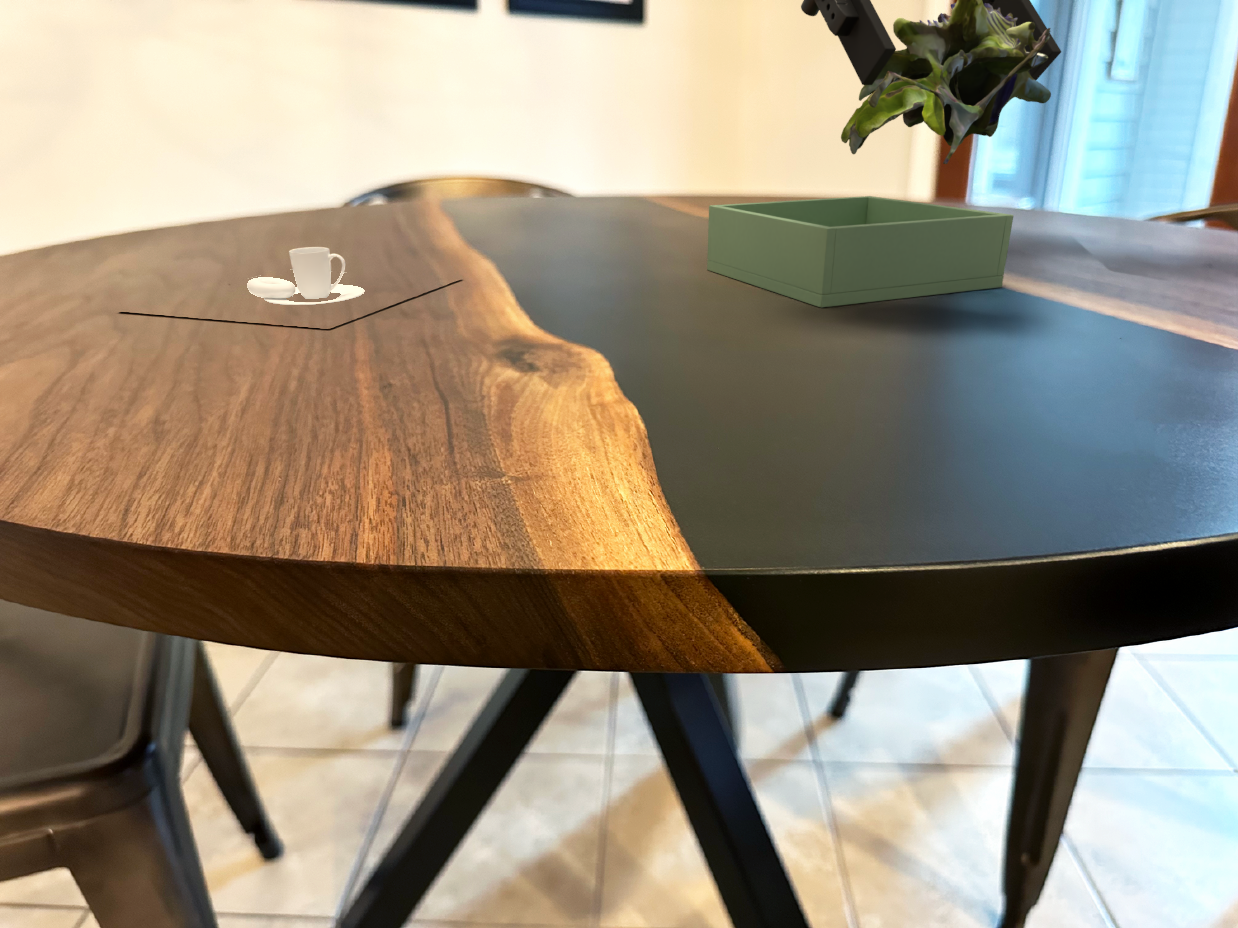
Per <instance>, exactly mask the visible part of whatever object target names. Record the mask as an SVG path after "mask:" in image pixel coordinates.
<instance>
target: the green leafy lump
mask: <svg viewBox="0 0 1238 928" xmlns="http://www.w3.org/2000/svg"><path fill="white" fill-rule="evenodd" d="M950 9H951V13H950V14H951V15H948V13H945V12H944V13H942V12H940V13H939V15H938V16H937V20H935V19H932V21H931V20H930V19H927V21H926V22H927V23H925V22H924V21H922V20H921V19H919V21H912V20H909V19H906V18H903V17H897V18H896V19H895V20H894V22H893V23H892V29H893V30H892V32H893V34H894V35H895V37H896V38H897V39H898V40H899V41H900V42H901V43H902V44H903V45H904V46H905V48H904V49H900V50H898V49H897V50H895V52H894V53H893V55H892V56H891V58H890V59H889V61H888V62H887V64H886V65H885V67H884V68H883V70H882V71H881V72H880V74H879V75H878V77H877V78H876V80H875V81H874V83H873V84H872V85H862V87H861V88H860V92H859V95H858V101H860V102H861V101H862V100H864V99H865V98H866V99H865V100H864V101H863V102H862V105H861V106H860V107H858V108H857V107H856V109H855V110H854V112H853V113H852V115H851V117H850V118H849V120H848V121H847V122H846V124H845V126H844V127H843V129H842V132H841V135H840V139H841V142H842V143H844V144H847V143H848V147H849V150H850V153H851V155H856V154H857V152H858V150H859V149H861V148H862V147H863V145H864V144H865V142H866V140H867V139H868V138H869V136H870V134H873V133H874V132H876V131H878V130H879V129H881V128H882V127H884V126H885V125H886V124H888V123H890V122H891V121H894V120H897V118H898V117H900V116H902V120H903V121H902V122H903V124H904V125H905V126H906V127H908V128H912V127H914V126H918V125H920V124H922V123H924V124H925V125H926V126H927V127H928V129H930V130H931V131H932V132H934V133H935V134H936V135H938V136H943V139H944V141H945V143H946V144H947V145H948V146H949V147H950V149H949V152H948V154H946V156H945V159H944V160H943V162H942V164H944V165H948V164H949V161H950V159H951V157H952V156H953V154H954V153H955V152H956V150H957V149H958V147H959V146H961V145H962V144H963V142H964V141H965V139H966V138H967V137H969V136H970V135H978V136H985V137H986V136H987V137H989V138H990V137H993V136H994V134H995V133H996V131H997V129H998V127H999V122H1000V116H1001V112H1002V110H1003V109H1004V108H1005V106H1006V105H1007V104H1008V103H1009V102H1010V101H1011V100H1012V99H1014V98H1016V99H1018V100H1023V101H1025V102H1028V103H1039V104H1046V103H1047V102H1049V101H1050V99H1051V97H1052V92H1051V91H1050V90H1049V89H1048V88H1047V87H1046V86H1045V85H1043V83H1040V82H1039V81H1038V80H1035V79H1033V78H1032V77H1031V75H1030V71H1029V70H1030V69H1032V68H1034V67H1037V66H1038V65H1040V64H1042V63H1044V62H1046V61H1047V60H1048V56H1047V55H1045V54H1041V53H1039V51H1040V50H1041V49H1042V48H1043V47H1044V46H1045V45H1046V43H1047V41H1048V39H1049V33H1050V34H1051V27H1048V28H1047V30H1045V31H1044V33H1043V34H1042V36H1041V37H1040V38H1039V40H1038V41H1035V39H1034V37H1033V32H1034V30H1035V24H1034V23H1033V22H1026V23H1024V24H1022V25H1020V26H1016V21H1017V19H1018V18H1014V19H1013V17H1012V16H1013V15H1012V14H1011V13H1009V14H1008V15H1007V16H1006V17H1003V16H1002V14H1001V12H1000V8H998V9H997V10H994V9H993V7H992V6H991V5H990V4H988V3H985V4H984V5H983V2H982V0H956V2H954V3H950ZM1027 45H1029V46H1030V52H1026V50H1025V47H1026V46H1027Z"/></svg>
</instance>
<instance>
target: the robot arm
mask: <svg viewBox="0 0 1238 928" xmlns="http://www.w3.org/2000/svg"><path fill="white" fill-rule="evenodd" d="M982 2H983V5H984V4H985V3H988V4H990V5H991V6H992V7H993V9H994V10H997V9H998V8H1000V12H1001V14H1002V16H1003V17H1006V16H1007V15H1008V14H1009V13H1011V14H1012V15H1013V16H1012V17H1013V19H1014V18H1018V19H1017V21H1016V26H1020V25H1022V24H1024V23H1026V22H1033V23H1034V24H1035V30H1034V32H1033V37H1034V39H1035V41H1038V40H1039V38H1040V37H1041V36H1042V34H1043V33H1044V31H1045V30H1047V29H1048V28H1047V26H1046V24H1045V22H1044V21H1043V20H1042V18H1041V16H1040V14H1039V13H1038V11H1037V10H1036V8H1035V6H1034V4H1033V3H1032V2H1031V0H982ZM800 9H801V12H803V13H804V14H805V15H807V16H809V17H815V16H818V13H819V12H820V14H821V16H822V18H823V20H824V22H825V23H826V26H827V28H828V30H829V31H830V32H831V33H832V34H833V36H834V37H838V40H839V42H840V43H841V45H842V47H843V49H844V52H845V53H846V55H847V58H848V60H849V61H850V64H851V66H852V67H853V70H854V72H855V73H856V76H857V77H858V79H859V81H860V83H861V85H862V86H864V85H872V84H873V83H874V81H875V80H876V78H877V77H878V75H879V74H880V72H881V71H882V70H883V68H884V67H885V65H886V64H887V62H888V61H889V59H890V58H891V56H892V55H893V53H894V52H895V51H897V48H896V46H895V44H894V42H893V40H892V39H891V36H890V35H889V32H888V31H887V29H886V27H885V25H884V23H883V22H882V19H881V17H880V15H879V14H878V12H877V10H876V8H875V7H874V4H873V3H872V0H802V2H801V4H800ZM1025 50H1026V52H1030V46H1029V45H1027V46H1026V47H1025ZM1039 53H1041V54H1045V55H1047V56H1048V60H1047V61H1046V62H1044V63H1042V64H1040V65H1038V66H1037V67H1034V68H1032V69H1030V70H1029V71H1030V75H1031V77H1032V78H1033V79H1035V80H1036V81H1038V80H1039V78H1041V76H1042V75H1043V74H1044V73H1045V71H1046V70H1047V69H1048V68H1049V67H1050V65H1052V64H1053V62H1054V61H1055V60H1056V59H1057V58H1058V56H1060V54H1061V53H1062V50H1061V48H1060V47H1059V45H1058V44H1057V42H1056V40H1055V38H1054V37H1053V35H1052V34H1051V32H1050V33H1049V39H1048V41H1047V43H1046V45H1045V46H1044V47H1043V48H1042V49H1041V50H1040V51H1039Z"/></svg>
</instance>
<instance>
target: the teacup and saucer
mask: <svg viewBox="0 0 1238 928" xmlns="http://www.w3.org/2000/svg"><path fill="white" fill-rule="evenodd" d="M330 252H331V251H330V248H329V247H326V246H325V247H323V246H307V247H306V246H305V247H298V248H293V249H290V250H288V255H289V259H290V264H291V270H293V273H294V277H295V281H296V284H297V287H295V285H294V284H293V283H292V282H290V281H287V280H284V279H280V278H273V277H258V278H253V277H252V278H253V279H251V280H249V281H248V283H247V288H248V290H249V292H250V293H251V294H253V295H255V296H257V297H261V298H264V300H265V301H267V302H269V303H273V304H280V305H316V304H326V303H334V302H340V301H345V300H349V299H353V298H356V297H359V296H361V295H362V294H364V292H365V290H364V289H363V288H361V287H358V286H353V285H343V284H338V283H339V282H340V280H341V278H342V276H343V274H344V273H345V270H346V261H345V258H344V257H343V256H341V255H340V254H338V253H330ZM334 258H337V259H339V260H340V262H341V271H340V272H341V273H340V276H339V278H338V279H337V281H336V282H335V283H334V284H331V272H332V263H331V262H332V261H331V260H333V259H334ZM330 292H331V293H340V294H341V295H340V296H339V297H337V298H336V299H333V300H328V301H321V302H294V301H289V300H287V299H286V298H290V297H291V296H292V297H293V295H294V294H298V293H301V295H302V296H303V297H304V298H305V299H319V298H327V297H328V296H329V294H330Z"/></svg>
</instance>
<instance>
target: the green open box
mask: <svg viewBox="0 0 1238 928" xmlns="http://www.w3.org/2000/svg"><path fill="white" fill-rule="evenodd" d="M1013 222H1014V214H1010V213H1003V212H994V211H987V210H979V209H971V208H964V207H957V206H949V205H943V204H942V205H941V204H933V203H926V202H920V201H919V202H918V201H910V200H903V199H897V198H896V199H895V198H889V197H880V196H873V195H865V196H862V195H861V196H847V197H830V198H813V199H811V198H810V199H797V200H796V199H795V200H783V201H782V200H777V201H761V202H760V201H759V202H745V203H729V204H728V203H727V204H711V205H708V224H707V228H708V229H707V260H706V261H707V262H706V264H707V265H706V270H707V271H710V272H713V273H716V274H717V275H718V274H719V275H721V276H725V277H728V278H731V279H733V280H737V281H739V282H743V283H745V284H749V285H751V286H755V287H757V288H761V289H763V290H767V291H770V292H773V293H776V294H779V295H780V296H781V295H782V296H783V297H787V298H791V299H793V300H797V301H799V302H802V303H805V304H808V305H811V306H814V307H817V308H821V309H823V308H831V307H839V306H847V305H856V304H858V305H859V304H865V303H866V304H867V303H875V302H884V301H892V300H901V299H910V298H918V297H919V298H920V297H928V296H936V295H944V294H953V293H963V292H970V291H971V292H972V291H979V290H989V289H998V288H1002V287H1003V282H1004V277H1005V275H1004V274H1005V269H1006V263H1007V258H1008V252H1009V245H1010V240H1011V233H1012V227H1013Z"/></svg>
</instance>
